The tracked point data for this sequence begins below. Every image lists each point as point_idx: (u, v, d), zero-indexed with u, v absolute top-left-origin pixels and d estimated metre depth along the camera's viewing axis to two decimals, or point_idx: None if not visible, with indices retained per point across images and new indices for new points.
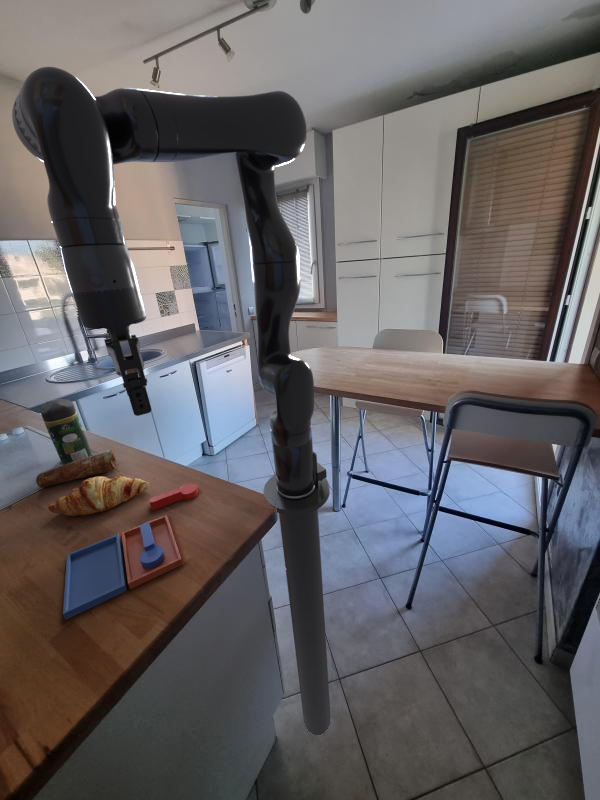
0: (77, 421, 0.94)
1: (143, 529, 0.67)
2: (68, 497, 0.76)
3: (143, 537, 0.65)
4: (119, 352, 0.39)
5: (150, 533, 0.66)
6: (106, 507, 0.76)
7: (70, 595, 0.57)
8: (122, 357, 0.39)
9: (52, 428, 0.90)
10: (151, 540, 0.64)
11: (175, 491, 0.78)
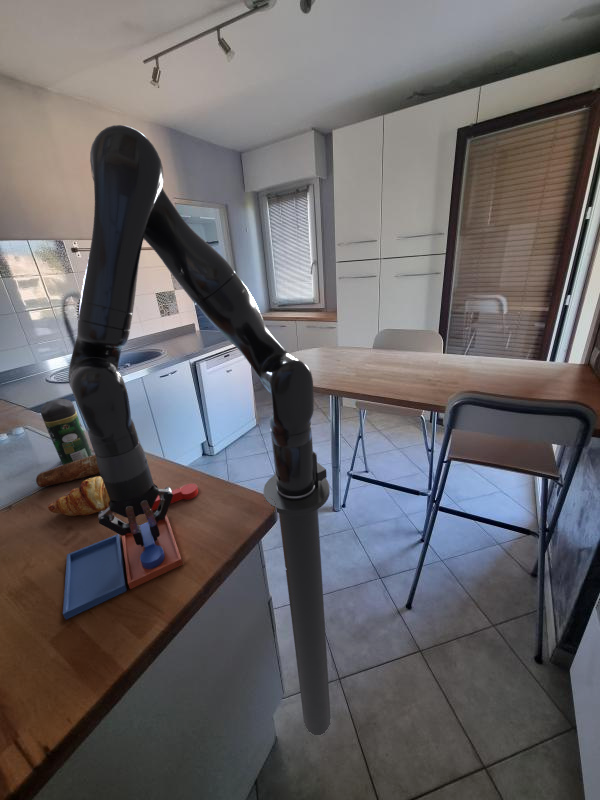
0: (77, 421, 0.94)
1: (143, 529, 0.67)
2: (68, 497, 0.76)
3: (143, 537, 0.65)
4: None
5: (150, 533, 0.66)
6: (106, 507, 0.76)
7: (70, 595, 0.57)
8: None
9: (52, 428, 0.90)
10: (151, 540, 0.64)
11: (175, 491, 0.78)
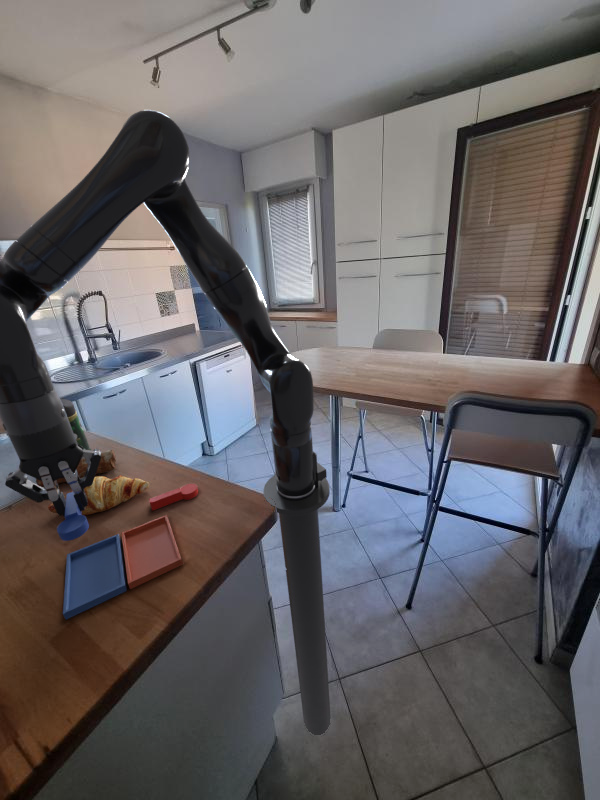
0: (77, 421, 0.94)
1: (69, 498, 0.58)
2: None
3: (66, 506, 0.56)
4: (99, 461, 0.56)
5: (75, 501, 0.57)
6: (106, 507, 0.76)
7: (70, 595, 0.57)
8: None
9: None
10: (75, 509, 0.55)
11: (175, 491, 0.78)
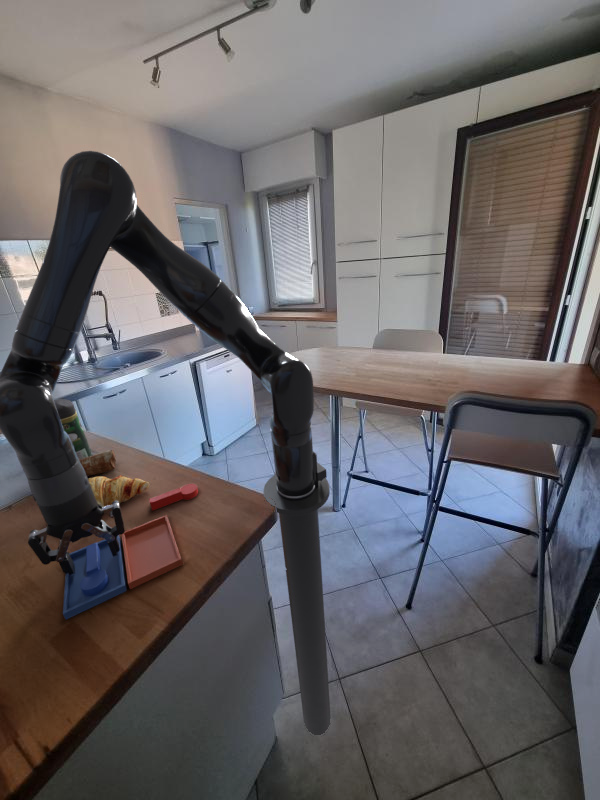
0: (77, 421, 0.94)
1: (89, 551, 0.63)
2: None
3: (87, 560, 0.61)
4: (120, 511, 0.61)
5: (95, 555, 0.62)
6: None
7: (70, 595, 0.57)
8: None
9: None
10: (95, 564, 0.60)
11: (175, 491, 0.78)
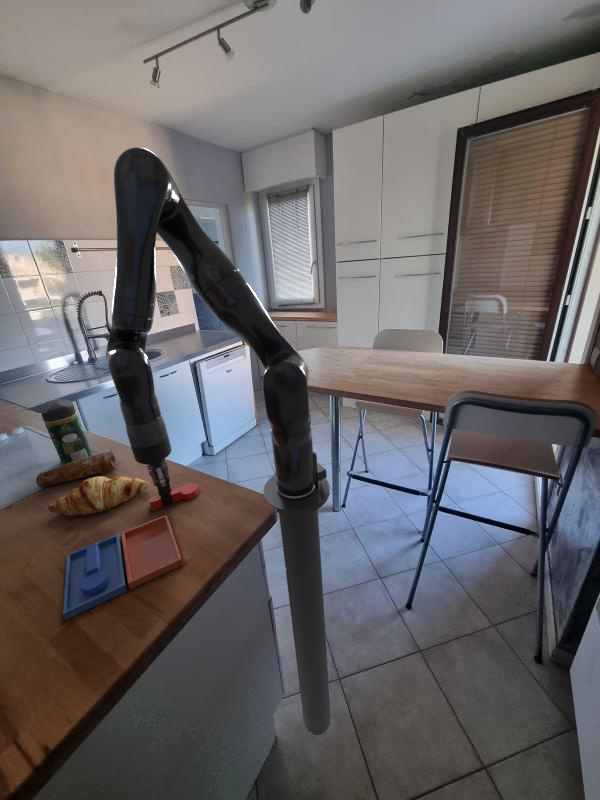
0: (77, 421, 0.94)
1: (89, 551, 0.63)
2: (68, 497, 0.76)
3: (87, 560, 0.61)
4: None
5: (95, 555, 0.62)
6: (106, 507, 0.76)
7: (70, 595, 0.57)
8: None
9: (52, 428, 0.90)
10: (95, 564, 0.60)
11: (175, 491, 0.78)
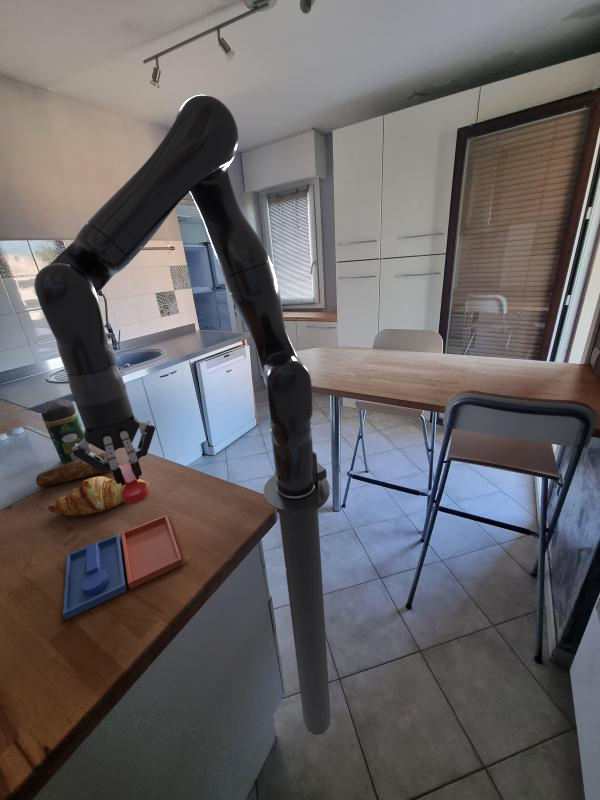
0: (77, 421, 0.94)
1: (89, 551, 0.63)
2: (68, 497, 0.76)
3: (87, 560, 0.61)
4: None
5: (95, 555, 0.62)
6: (106, 507, 0.76)
7: (70, 595, 0.57)
8: None
9: (52, 428, 0.90)
10: (95, 564, 0.60)
11: (128, 478, 0.59)
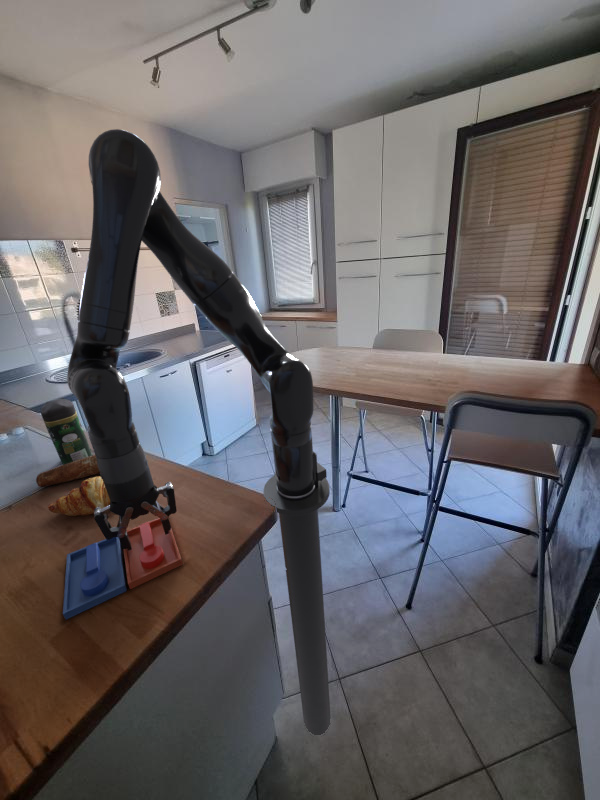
0: (77, 421, 0.94)
1: (89, 551, 0.63)
2: (68, 497, 0.76)
3: (87, 560, 0.61)
4: (173, 492, 0.65)
5: (95, 555, 0.62)
6: None
7: (70, 595, 0.57)
8: None
9: (52, 428, 0.90)
10: (95, 564, 0.60)
11: (146, 541, 0.64)
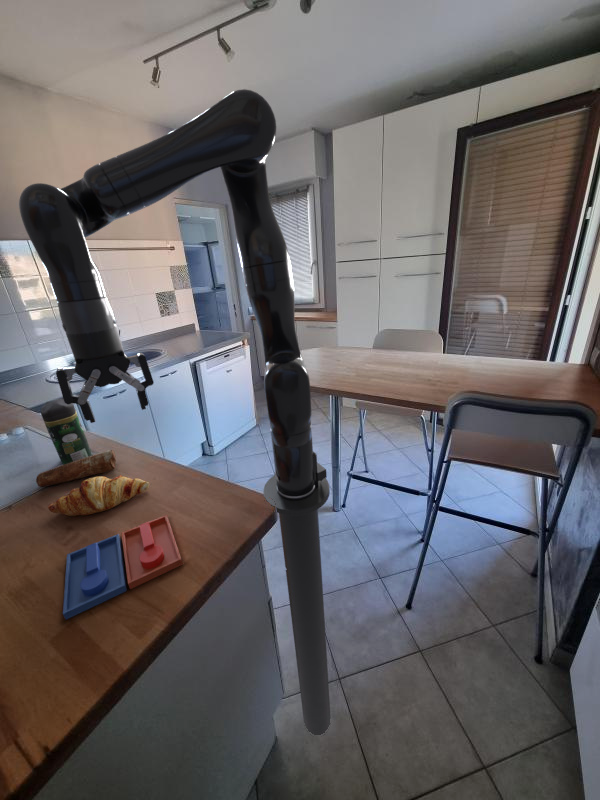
0: (77, 421, 0.94)
1: (89, 551, 0.63)
2: (68, 497, 0.76)
3: (87, 560, 0.61)
4: None
5: (95, 555, 0.62)
6: (106, 507, 0.76)
7: (70, 595, 0.57)
8: None
9: (52, 428, 0.90)
10: (95, 564, 0.60)
11: (146, 541, 0.64)
